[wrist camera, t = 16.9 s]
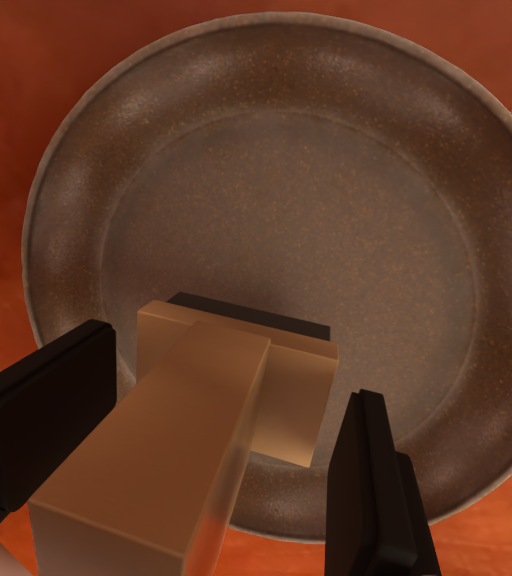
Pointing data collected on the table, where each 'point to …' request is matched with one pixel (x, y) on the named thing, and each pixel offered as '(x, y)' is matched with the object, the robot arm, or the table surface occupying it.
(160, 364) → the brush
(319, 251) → the plant saucer
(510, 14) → the table surface
